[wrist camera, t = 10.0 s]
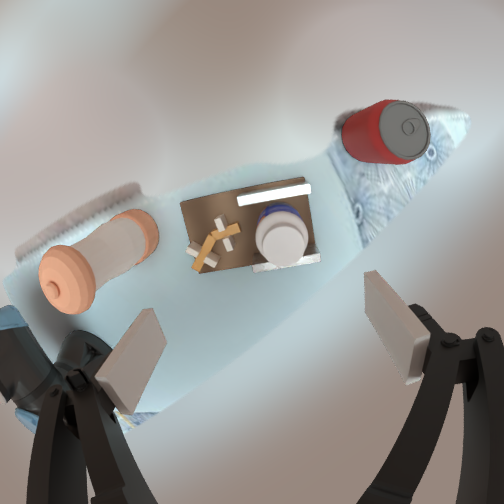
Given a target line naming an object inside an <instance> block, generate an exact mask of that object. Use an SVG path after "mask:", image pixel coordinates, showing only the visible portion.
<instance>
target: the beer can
mask: <svg viewBox="0 0 504 504" xmlns="http://www.w3.org/2000/svg"><path fill="white" fill-rule="evenodd" d="M430 135H431V134H430V128H429V124H428V122H427V119H426V117H425V116H424V114H423V113H422V112H421V110H420V109H419V108H417V107H416V106H415V105H413V104H412V103H409V102H406V101H399V100H383V101H381V102H378V103H376V104H374V105H372V106H370V107H368V108H366V109H364V110H362V111H360V112H358V113H356V114H354V115H352V116H351V117H350V118H348V119H347V120H346V122H345V124H344V126H343V129H342V140H343V144H344V146H345V148H346V150H347V151H348V152H349V154H350V155H351V156H352V157H354V158H355V159H357V160H359V161H362V162H366V163H382V164H395V165H399V164H407V163H409V162H411V161H413V160H415V159H417V158H419V157H421V156H422V155H423V154H424V153H425V152H426V151H427V149H428V146H429V144H430Z"/></svg>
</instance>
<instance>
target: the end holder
mask: <svg viewBox="0 0 504 504" xmlns="http://www.w3.org/2000/svg"><path fill="white" fill-rule="evenodd" d="M309 193H311V189H310V184H309V183H307V182H305V181H304V182H298V183H292V184H286V185H281V186H275V187H270V188H265V189H259V190H254V191H249V192H244V193H241V194H240V195H239V196H238V197H237V200H238V205H239V206H243V205H248V204H253V203H258V202H264V201H269V200H274V199H280V198H285V197H291V196H297V195H303V194H309ZM315 262H321V256H320V252H319V250H318V248H317V246H316V244H315V243H313V244H307V247H306V249H305V251H304V254H303V256H302V258H301V259H300V260H299V261H298V262H297V263H296V264H294V265H292V266H298V265H304V264H309V263H315ZM292 266H288V267H292ZM252 268H253V272H254V273H257V272H263V271H269V270H275V269H281V268H286V267H278V266H275V265H273V264H271V263H270V262H269V261H268V260H267V259H266V258H265V257H264V256H263V255H262V254H261V253H255V254H254V256H253V262H252Z"/></svg>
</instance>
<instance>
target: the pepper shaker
mask: <svg viewBox="0 0 504 504" xmlns="http://www.w3.org/2000/svg"><path fill="white" fill-rule="evenodd" d="M158 241H159V232H158V228H157V225H156V223H155V222H154V220H153V218H152V217H151V216H150V215H149V214H147V213H146V212H144V211H142V210H137V209H132V210H128V211H125V212H123V213H121V214H118V215H116V216H115V217H113V218H112V219H111V220H110V221H109V222H107V223H104V224H102V225H101V226H99V227H98V228H97V229H96V230H94V231H93V232H92V233H91V234H90V235H88V236H87V237H86V238H84V239H83V240H81V241H79V242H77V243H75V244H73V245H71V246H65V245H56V246H53V247H51V248H50V249H49V250H48V251H47V252H46V253H45V254H44V255H43V257H42V260H41V263H40V266H39V281H40V285H41V288H42V290H43V293H44V294H45V296H46V298H47V299H48V301H49V302H50V303H51V304H52V305H53V306H54V307H55V308H56V309H58V310H59V311H61V312H63V313H66V314H80V313H82V312H84V311H86V310H88V309H89V308H90V306H91V304H92V303H93V300H94V298H95V292H96V291H97V290H98V289H99V288H100V287H102V286H103V285H104V284H105V283H106V282H108V281H109V280H111V279H113V278H115V277H117V276H119V275H121V274H123V273H125V272H126V271H128V270H129V269H130V268H131V267H132V266H134V265H137V264H139V263H140V262H142V261H143V260H145V259H146V258H147V257H148V256H149V255H150V254H152V253H153V251H154V250H155V249H156V247H157V244H158Z"/></svg>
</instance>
